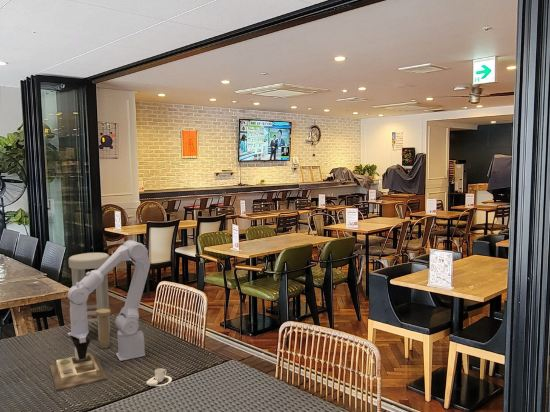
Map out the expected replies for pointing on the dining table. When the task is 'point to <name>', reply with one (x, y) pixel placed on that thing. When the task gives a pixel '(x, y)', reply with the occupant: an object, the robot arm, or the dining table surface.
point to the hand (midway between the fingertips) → (81, 356)
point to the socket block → (76, 372)
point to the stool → (78, 273)
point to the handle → (104, 327)
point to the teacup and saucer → (158, 378)
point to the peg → (78, 357)
